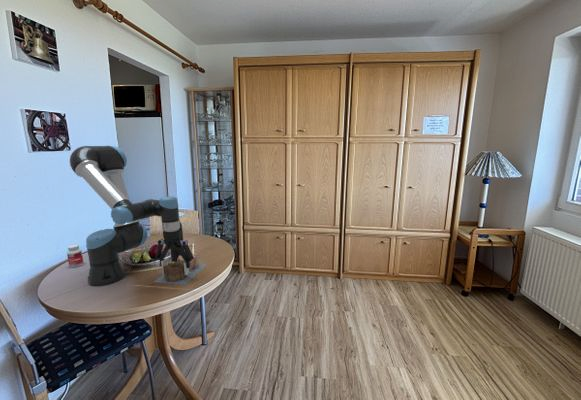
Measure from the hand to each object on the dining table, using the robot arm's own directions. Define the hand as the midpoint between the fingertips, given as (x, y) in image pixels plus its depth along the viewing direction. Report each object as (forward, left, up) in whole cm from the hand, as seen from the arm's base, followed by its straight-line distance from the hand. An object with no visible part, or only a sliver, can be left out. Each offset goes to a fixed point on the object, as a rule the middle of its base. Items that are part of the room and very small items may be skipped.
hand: (175, 273), depth 128 cm
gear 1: (0, 0, -2) cm, 2 cm away
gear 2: (0, +11, -2) cm, 11 cm away
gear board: (0, +5, -3) cm, 6 cm away
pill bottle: (-63, +7, -3) cm, 63 cm away
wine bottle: (-11, +20, -3) cm, 23 cm away
